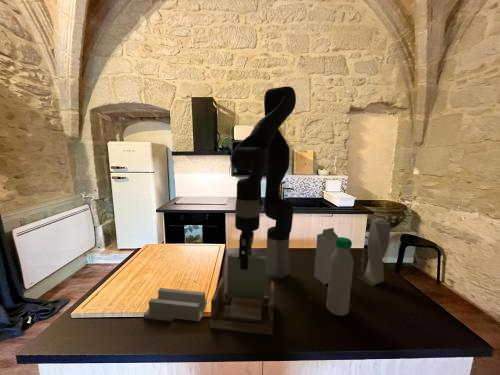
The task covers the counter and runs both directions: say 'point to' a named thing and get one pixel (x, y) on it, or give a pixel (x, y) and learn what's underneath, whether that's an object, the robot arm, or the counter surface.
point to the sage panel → (246, 278)
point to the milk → (324, 254)
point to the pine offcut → (246, 308)
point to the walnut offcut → (236, 319)
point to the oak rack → (217, 322)
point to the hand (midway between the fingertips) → (246, 262)
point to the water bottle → (340, 278)
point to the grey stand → (176, 305)
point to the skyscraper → (375, 251)
